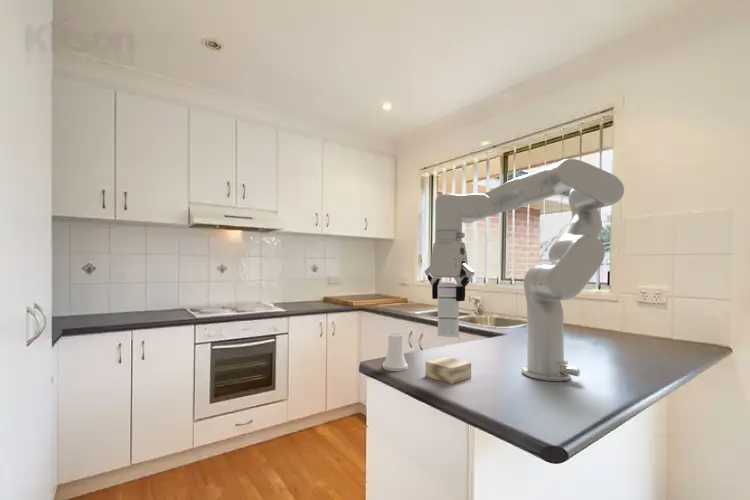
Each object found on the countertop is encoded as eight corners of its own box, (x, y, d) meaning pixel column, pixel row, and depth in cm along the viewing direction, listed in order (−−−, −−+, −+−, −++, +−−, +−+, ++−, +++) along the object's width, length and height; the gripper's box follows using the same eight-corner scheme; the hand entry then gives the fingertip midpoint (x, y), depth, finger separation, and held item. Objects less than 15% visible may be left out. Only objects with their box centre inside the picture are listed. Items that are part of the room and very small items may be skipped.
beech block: (471, 377, 101) (471, 362, 101) (451, 383, 95) (451, 368, 95) (445, 370, 108) (445, 356, 108) (425, 375, 102) (425, 361, 102)
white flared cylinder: (392, 363, 115) (393, 331, 116) (412, 367, 111) (412, 334, 111) (377, 367, 110) (378, 334, 110) (398, 372, 105) (398, 337, 105)
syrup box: (458, 337, 99) (459, 284, 99) (437, 336, 100) (437, 283, 100) (458, 333, 104) (458, 283, 105) (437, 332, 105) (438, 282, 106)
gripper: (482, 237, 99) (482, 301, 98) (433, 240, 112) (432, 297, 111) (466, 235, 94) (466, 303, 93) (416, 238, 107) (416, 298, 107)
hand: (448, 299), depth 102 cm, fingers closed on syrup box, 7 cm apart
